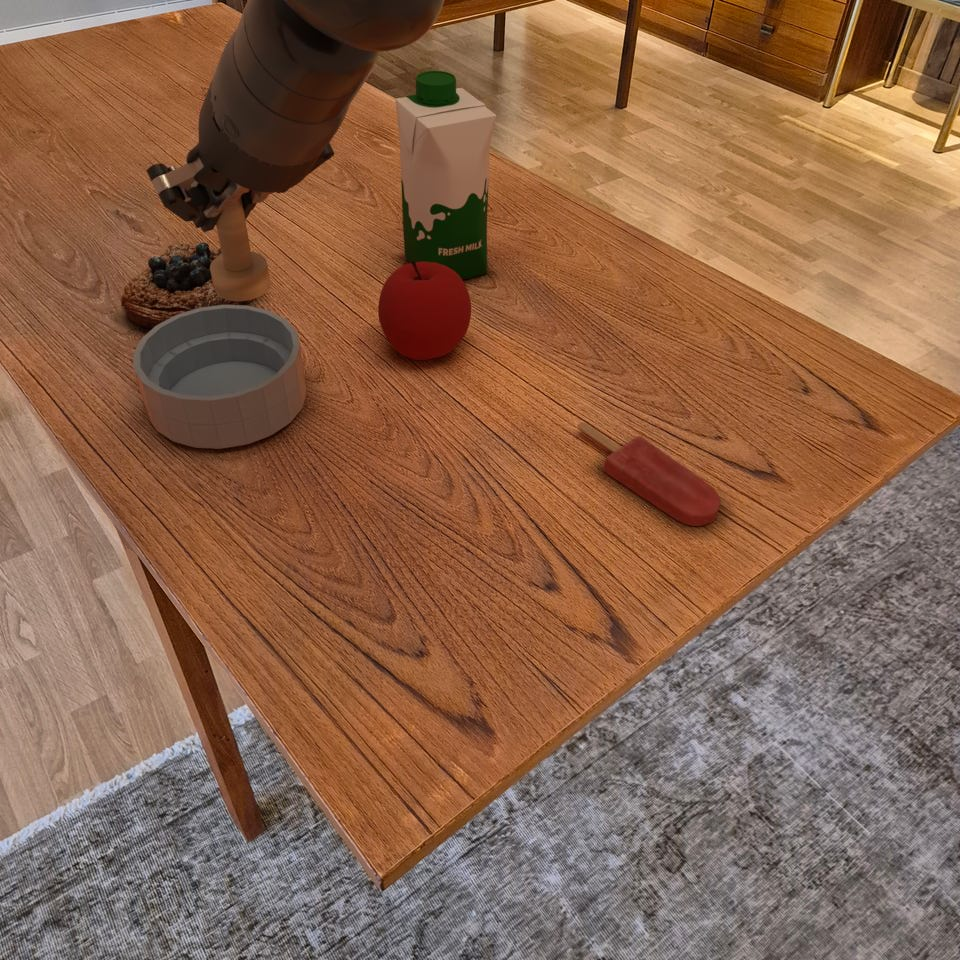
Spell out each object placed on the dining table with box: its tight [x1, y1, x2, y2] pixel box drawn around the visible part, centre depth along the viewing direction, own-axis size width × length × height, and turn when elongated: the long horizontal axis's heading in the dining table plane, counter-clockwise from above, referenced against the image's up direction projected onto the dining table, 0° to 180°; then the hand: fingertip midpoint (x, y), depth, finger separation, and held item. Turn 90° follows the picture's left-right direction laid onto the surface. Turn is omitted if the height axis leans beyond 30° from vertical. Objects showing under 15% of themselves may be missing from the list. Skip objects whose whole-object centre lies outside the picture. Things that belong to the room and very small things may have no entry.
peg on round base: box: [210, 197, 271, 301], centre depth 67 cm, size 4×4×12 cm
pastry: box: [120, 242, 253, 334], centre depth 92 cm, size 11×12×6 cm
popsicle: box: [577, 421, 721, 527], centre depth 76 cm, size 4×2×15 cm
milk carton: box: [395, 70, 497, 281], centre depth 94 cm, size 9×9×20 cm
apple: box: [377, 259, 472, 361], centre depth 86 cm, size 9×9×10 cm
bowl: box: [132, 305, 307, 450], centre depth 80 cm, size 14×14×6 cm
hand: (217, 214), depth 69 cm, fingers closed on peg on round base, 2 cm apart
